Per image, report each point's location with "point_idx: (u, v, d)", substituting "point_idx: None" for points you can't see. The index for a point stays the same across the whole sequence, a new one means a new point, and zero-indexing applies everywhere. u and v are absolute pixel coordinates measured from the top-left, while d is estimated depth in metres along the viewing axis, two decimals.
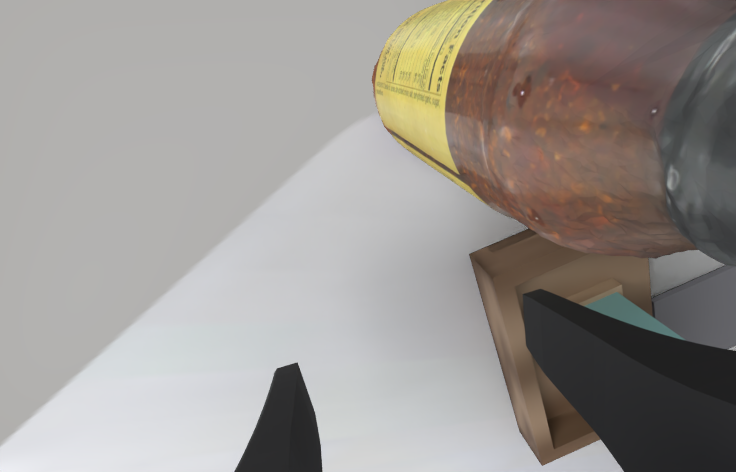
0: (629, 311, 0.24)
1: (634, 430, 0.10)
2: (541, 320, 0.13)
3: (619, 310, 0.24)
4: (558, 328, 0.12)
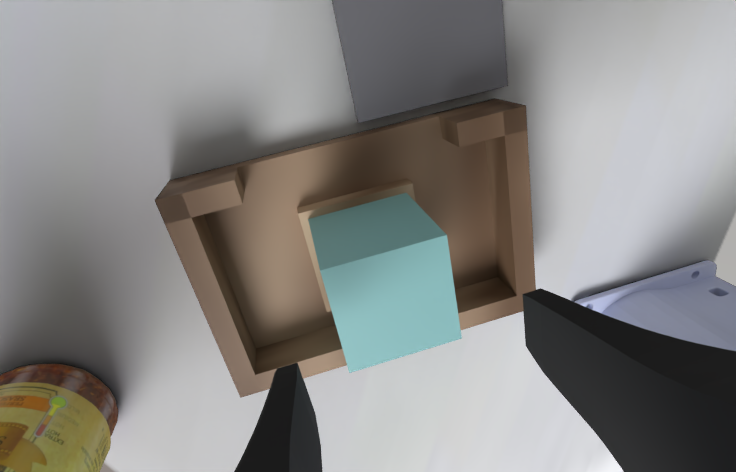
0: None
1: (634, 430, 0.10)
2: (541, 320, 0.13)
3: None
4: (558, 328, 0.12)
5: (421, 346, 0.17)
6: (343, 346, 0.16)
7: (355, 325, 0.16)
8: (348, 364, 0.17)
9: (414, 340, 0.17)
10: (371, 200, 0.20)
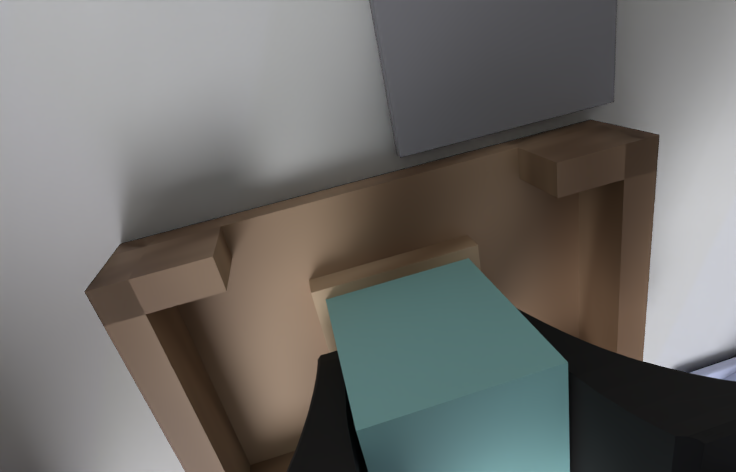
0: None
1: (582, 448, 0.10)
2: None
3: None
4: None
5: None
6: None
7: None
8: None
9: None
10: (418, 270, 0.13)
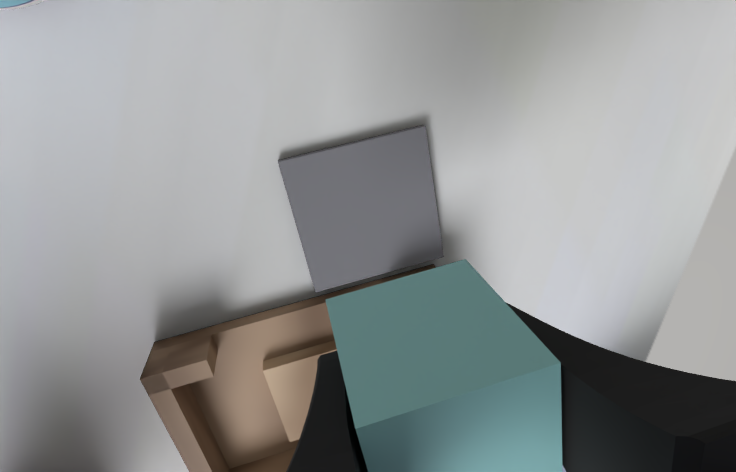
0: None
1: (583, 448, 0.10)
2: None
3: None
4: None
5: None
6: None
7: None
8: None
9: None
10: None
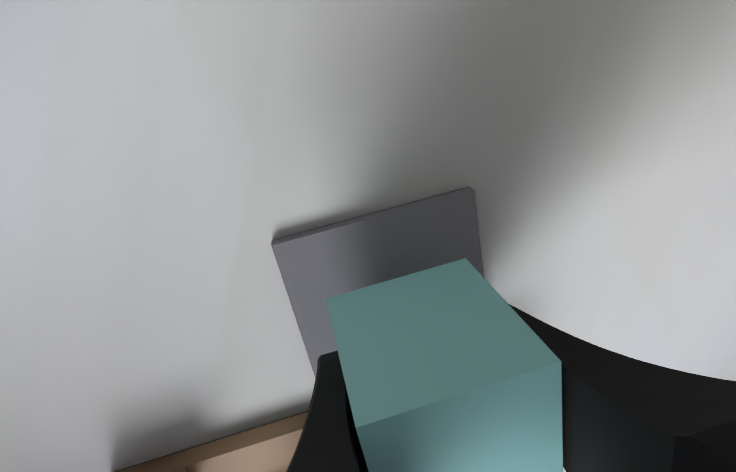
0: None
1: (582, 448, 0.10)
2: None
3: None
4: None
5: None
6: None
7: None
8: None
9: None
10: None
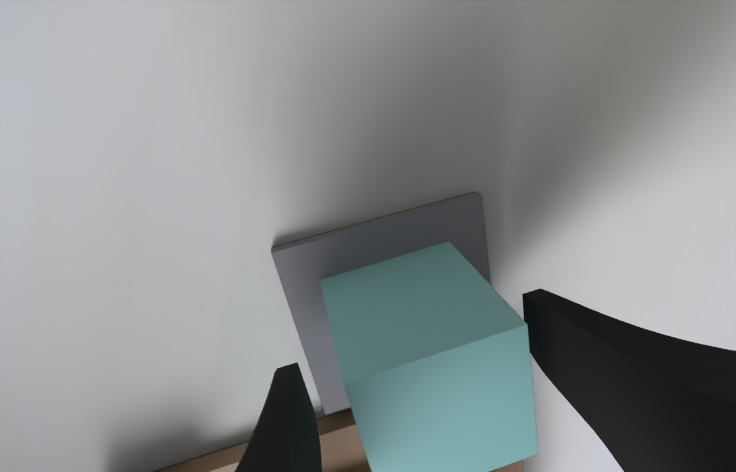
0: None
1: (634, 430, 0.10)
2: (541, 320, 0.13)
3: None
4: (558, 328, 0.12)
5: (483, 468, 0.12)
6: None
7: (393, 450, 0.11)
8: None
9: (474, 461, 0.12)
10: None
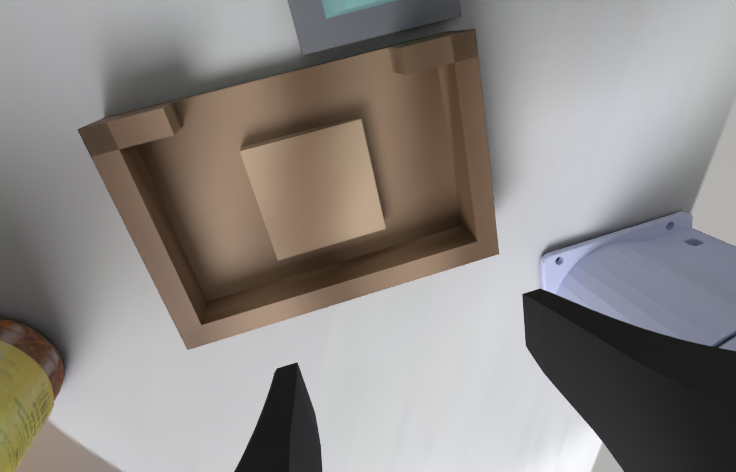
0: None
1: (634, 430, 0.10)
2: (541, 320, 0.13)
3: None
4: (558, 328, 0.12)
5: None
6: None
7: None
8: None
9: None
10: (318, 137, 0.19)
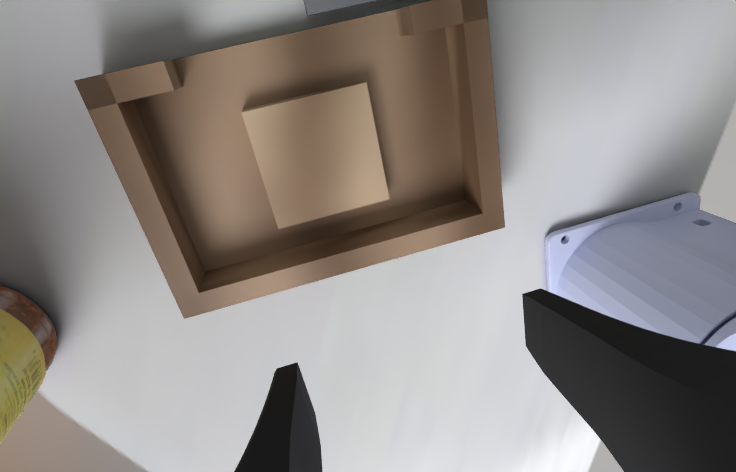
0: None
1: (634, 430, 0.10)
2: (541, 320, 0.13)
3: None
4: (558, 328, 0.12)
5: None
6: None
7: None
8: None
9: None
10: (322, 100, 0.18)
